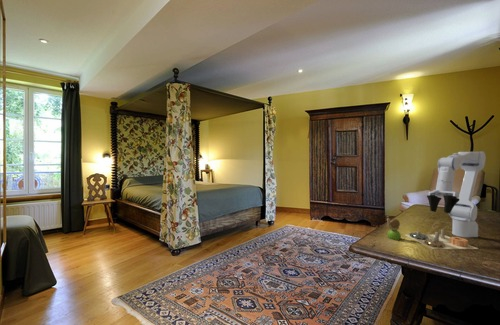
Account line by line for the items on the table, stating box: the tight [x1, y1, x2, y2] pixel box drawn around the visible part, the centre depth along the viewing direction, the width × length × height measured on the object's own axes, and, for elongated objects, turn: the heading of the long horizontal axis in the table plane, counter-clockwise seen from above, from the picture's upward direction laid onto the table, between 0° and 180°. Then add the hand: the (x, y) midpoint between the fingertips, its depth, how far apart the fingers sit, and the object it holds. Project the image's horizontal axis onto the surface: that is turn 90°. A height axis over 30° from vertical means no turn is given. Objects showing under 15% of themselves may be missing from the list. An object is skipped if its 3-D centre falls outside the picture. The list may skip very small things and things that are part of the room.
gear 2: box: [424, 239, 445, 248], centre depth 105 cm, size 7×7×2 cm
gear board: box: [404, 228, 479, 250], centre depth 110 cm, size 20×18×5 cm
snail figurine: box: [386, 215, 402, 241], centre depth 113 cm, size 5×6×12 cm
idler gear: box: [449, 236, 469, 247], centre depth 106 cm, size 6×6×2 cm
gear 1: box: [409, 232, 428, 240], centre depth 114 cm, size 7×7×1 cm
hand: (439, 212), depth 107 cm, fingers open, 7 cm apart
